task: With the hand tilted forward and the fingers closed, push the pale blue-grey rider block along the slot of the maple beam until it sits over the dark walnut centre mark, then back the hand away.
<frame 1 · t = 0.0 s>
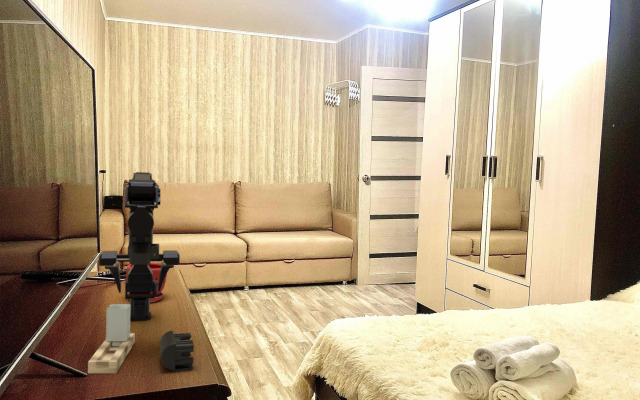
hand: (139, 292, 132), 15 cm above the table, tool pointing down, fingers open, 9 cm apart
beam: (113, 356, 128), on the table
end cap: (175, 365, 125), on the table
rider: (118, 325, 132), point 6 cm above the table, slide at -5.0 cm
plant pot: (146, 300, 181), on the table
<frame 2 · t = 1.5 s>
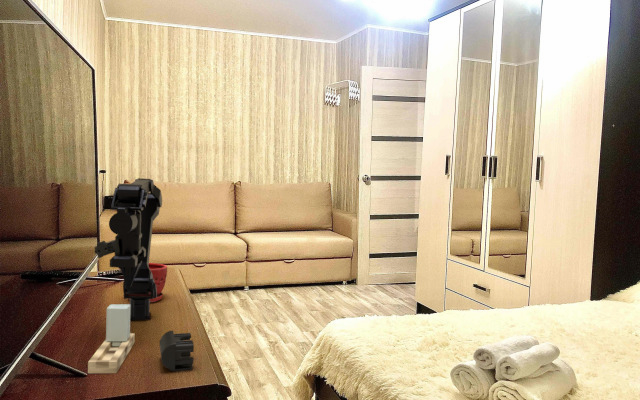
hand: (128, 287, 143), 13 cm above the table, tool pointing down, fingers closed
nothing on the table moved.
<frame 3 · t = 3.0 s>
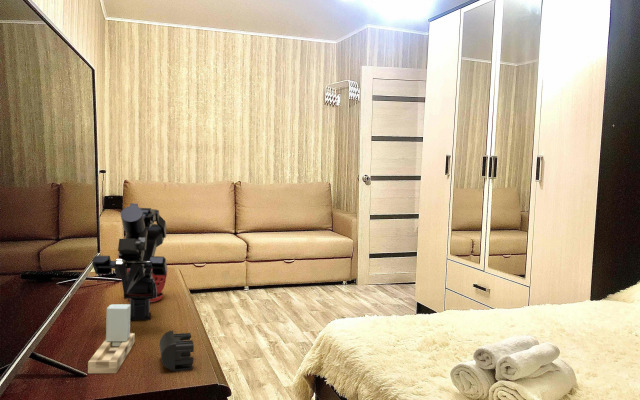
hand: (125, 292, 139), 13 cm above the table, tool tilted 45°, fingers closed
nothing on the table moved.
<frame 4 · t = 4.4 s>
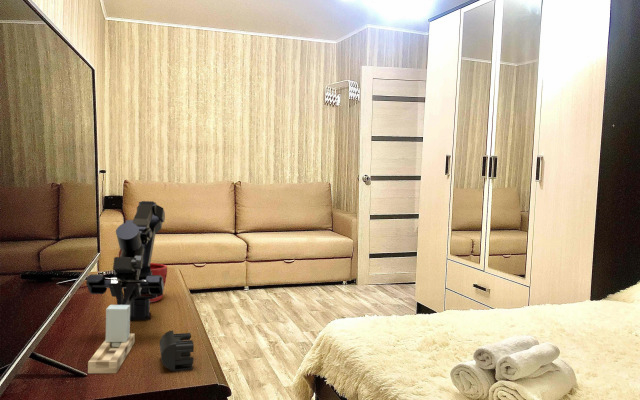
hand: (120, 313, 134), 9 cm above the table, tool tilted 45°, fingers closed, pressing on rider
rider: (118, 325, 132), point 6 cm above the table, slide at -4.5 cm, touching gripper
everything else where it was.
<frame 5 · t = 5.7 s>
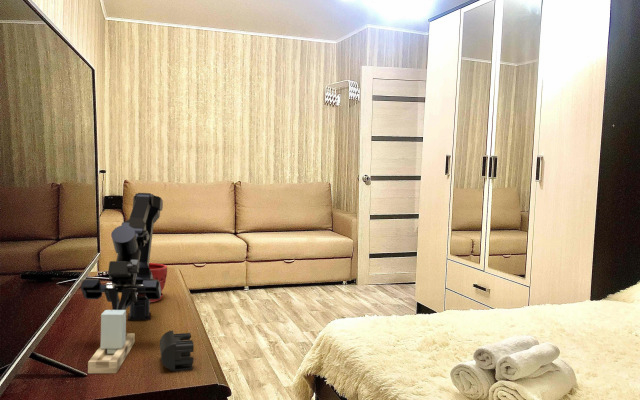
hand: (115, 319, 129), 9 cm above the table, tool tilted 45°, fingers closed, pressing on rider
rider: (113, 331, 127), point 6 cm above the table, slide at 0.1 cm, touching gripper
everything else where it was.
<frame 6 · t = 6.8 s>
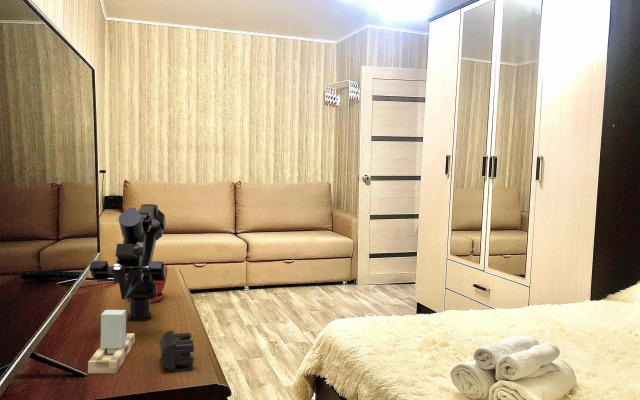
hand: (123, 298, 136), 12 cm above the table, tool tilted 45°, fingers closed
rider: (113, 331, 127), point 6 cm above the table, slide at 0.1 cm
everything else where it was.
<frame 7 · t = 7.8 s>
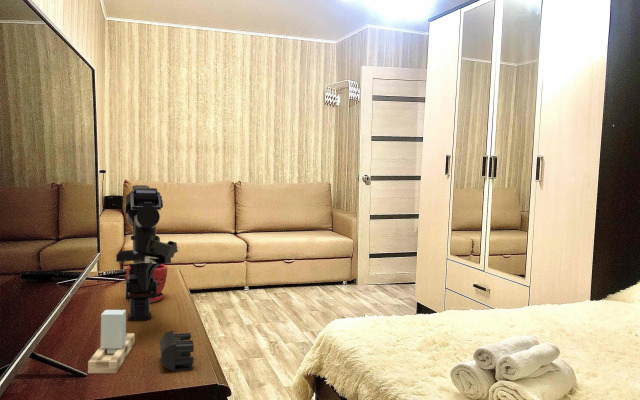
hand: (144, 289, 143), 13 cm above the table, tool pointing down, fingers closed
nothing on the table moved.
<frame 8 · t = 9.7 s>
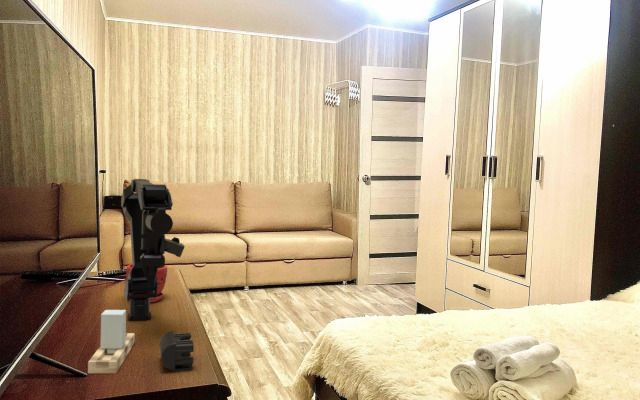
hand: (151, 286, 146), 13 cm above the table, tool pointing down, fingers closed
nothing on the table moved.
at the end: rider slide at 0.1 cm; rider touching nothing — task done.
